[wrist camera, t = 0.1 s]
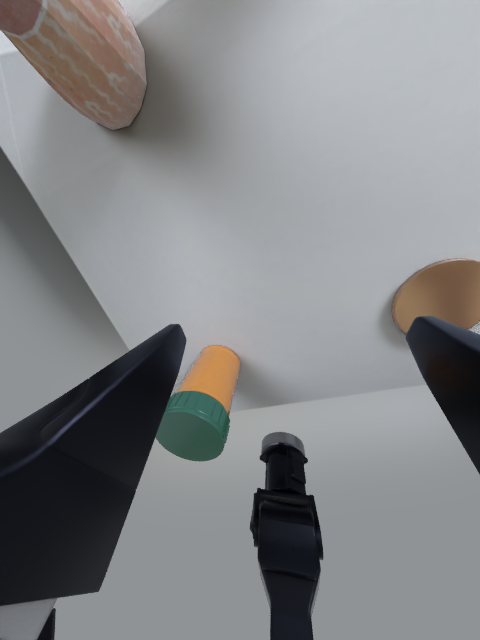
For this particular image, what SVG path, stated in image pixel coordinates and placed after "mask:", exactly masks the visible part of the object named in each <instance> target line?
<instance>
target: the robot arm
mask: <svg viewBox="0 0 480 640" xmlns="http://www.w3.org/2000/svg"><path fill="white" fill-rule="evenodd" d="M406 340H407V342H408V345H409V347H410V349H411V351H412V354H413V356H414V358H415V360H416V363H417V365H418V367H419V370H420V372H421V374H422V376H423V378H424V380H425V382H426V383H427V385H428V387H429V389H430V390H431V392H432V394H433V395H434V397H435V398H436V401H437V402H438V404H439V406H440V407H441V409H442V411H443V412H444V414H445V416H446V418H447V419H448V421H449V423H450V424H451V426H452V428H453V429H454V431H455V433H456V435H457V436H458V438H459V440H460V441H461V443H462V445H463V447H464V448H465V450H466V452H467V453H468V455H469V457H470V458H471V460H472V462H473V464H474V465H475V467H476V469H477V471H478V472H479V474H480V335H479V334H477V333H474V332H472V331H469V330H467V329H464V328H462V327H459V326H456V325H454V324H451V323H449V322H446V321H444V320H441V319H439V318H436V317H434V316H418V317H416V318H415V319H414V320H413V322H412V324H411V326H410V328H409V330H408V332H407V334H406ZM185 345H186V337H185V335H184V332H183V330H182V328H181V326H180V325H179V324H170V325H168V326H167V327H165V328H164V329H162V330H161V331H159V332H158V333H156V334H155V335H153V336H152V337H150V338H149V339H147V340H146V341H144V342H143V343H141V344H140V345H138V346H137V347H135V348H134V349H132V350H131V351H129V352H128V353H126V354H125V355H123V356H122V357H120V358H119V359H117V360H116V361H114V362H112V363H111V364H110V365H108V366H106V367H105V368H104V369H102V370H100V371H99V372H97V373H96V374H94V375H93V376H92V377H90V378H89V379H87V380H85V381H84V382H83V383H81V384H79V385H78V386H77V387H75V388H73V389H72V390H70V391H69V392H67V393H65V394H64V395H62V396H61V397H59V398H57V399H56V400H54V401H53V402H51V403H49V404H48V405H46V406H44V407H43V408H41V409H39V410H38V411H36V412H34V413H33V414H31V415H29V416H28V417H26V418H25V419H23V420H21V421H19V422H18V423H16V424H15V425H13V426H11V427H10V428H8V429H6V430H4V431H3V432H1V433H0V640H54V633H55V611H56V609H55V608H53V606H54V604H55V602H56V600H57V598H59V597H67V596H73V595H81V594H87V593H94V592H98V591H99V590H100V587H101V585H102V582H103V580H104V578H105V575H106V572H107V569H108V566H109V564H110V561H111V558H112V555H113V553H114V550H115V547H116V544H117V542H118V539H119V536H120V533H121V530H122V528H123V525H124V522H125V519H126V517H127V514H128V511H129V509H130V506H131V503H132V500H133V498H134V495H135V492H136V489H137V486H138V484H139V481H140V478H141V475H142V473H143V470H144V467H145V464H146V461H147V459H148V456H149V453H150V450H151V448H152V445H153V442H154V439H155V437H156V434H157V431H158V428H159V426H160V423H161V420H162V417H163V415H164V412H165V409H166V406H167V404H168V401H169V398H170V395H171V393H172V390H173V387H174V384H175V382H176V379H177V376H178V373H179V369H180V366H181V361H182V357H183V353H184V349H185ZM260 460H261V461H263V462H264V463H266V481H265V489H261V488H258V489H257V493H254V502H253V510H252V516H251V522H250V530H251V532H252V534H253V539H254V547H257V548H258V562H259V569H260V576H261V579H262V583H263V586H264V589H265V593H266V596H267V599H268V602H269V606H270V609H271V628H270V637H271V638H270V640H313V632H312V622H311V617H312V612H313V609H314V605H315V601H316V597H317V593H318V590H319V580H320V571H321V569H320V561H319V560H323V546H322V538H321V531H320V525H319V520H318V516H317V511H316V506H315V501H314V496H313V495H306V491H305V484H306V479H305V472H304V464H306V463H307V462H308V459H307V458H306V457H305V456H303V455H301V454H300V453H298V452H296V451H295V450H293V449H292V448H290V447H288V446H287V445H285V444H284V443H282V442H279V443H278V444H276V445H275V446H273V447H272V448H270V449H269V450H267V451H266V452H265V453H263V454H262V455H260Z"/></svg>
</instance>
